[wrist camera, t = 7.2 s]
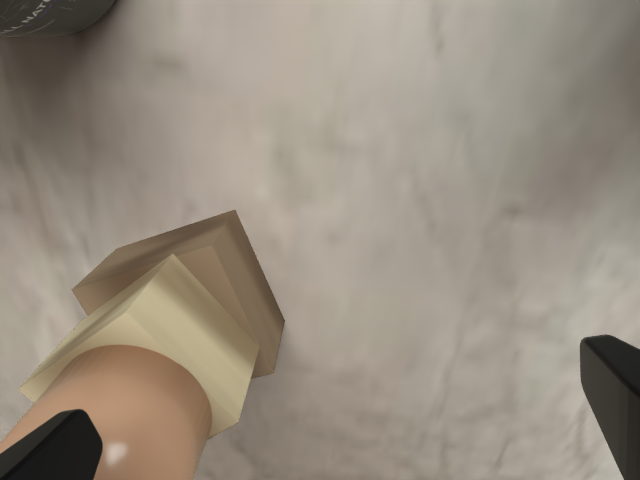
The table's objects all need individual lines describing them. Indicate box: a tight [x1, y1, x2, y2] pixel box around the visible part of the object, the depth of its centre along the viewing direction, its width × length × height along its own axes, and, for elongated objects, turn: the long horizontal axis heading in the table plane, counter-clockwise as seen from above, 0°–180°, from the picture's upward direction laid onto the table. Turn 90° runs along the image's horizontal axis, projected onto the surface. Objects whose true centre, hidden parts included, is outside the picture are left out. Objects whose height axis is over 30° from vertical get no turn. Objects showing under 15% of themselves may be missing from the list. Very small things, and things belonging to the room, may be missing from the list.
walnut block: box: [72, 210, 285, 379], centre depth 20 cm, size 6×6×4 cm
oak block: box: [18, 254, 260, 440], centre depth 17 cm, size 5×5×4 cm
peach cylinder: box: [0, 345, 212, 480], centre depth 13 cm, size 5×5×4 cm
